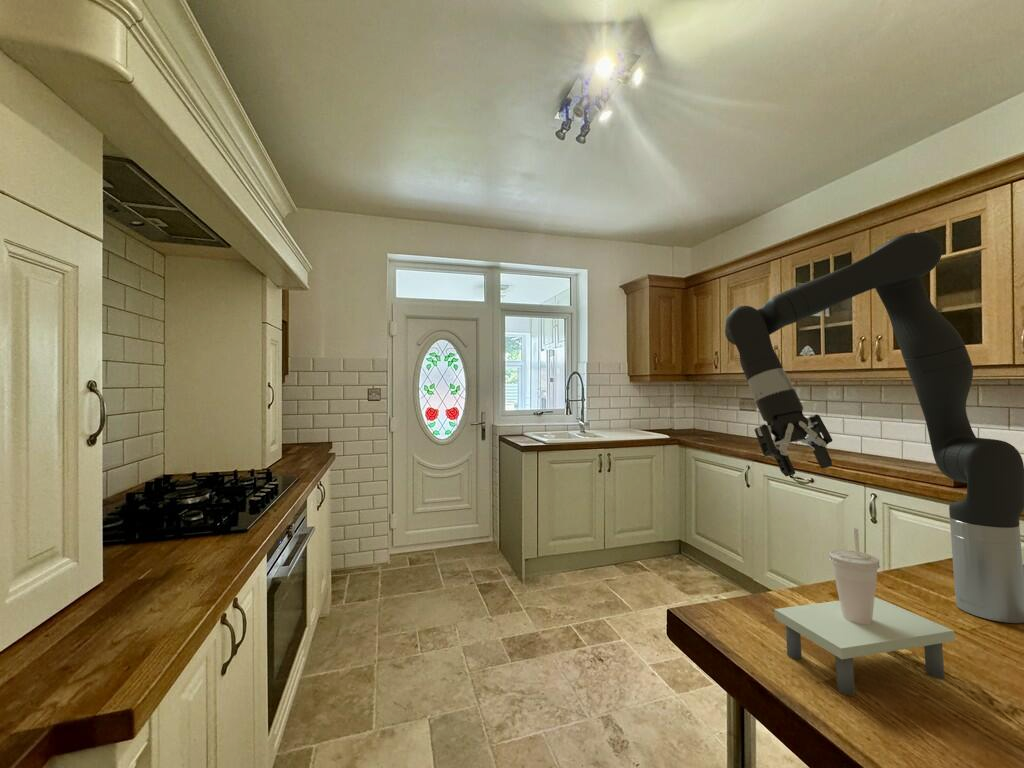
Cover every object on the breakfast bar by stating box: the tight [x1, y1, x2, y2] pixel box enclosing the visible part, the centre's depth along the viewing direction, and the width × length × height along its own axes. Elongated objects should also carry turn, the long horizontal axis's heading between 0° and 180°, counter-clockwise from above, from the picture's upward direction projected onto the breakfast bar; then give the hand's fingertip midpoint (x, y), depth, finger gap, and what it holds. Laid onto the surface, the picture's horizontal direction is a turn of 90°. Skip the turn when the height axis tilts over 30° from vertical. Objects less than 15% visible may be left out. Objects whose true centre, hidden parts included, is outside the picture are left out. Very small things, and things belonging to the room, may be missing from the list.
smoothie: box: [828, 527, 881, 624], centre depth 69 cm, size 6×6×14 cm
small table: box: [774, 596, 956, 697], centre depth 69 cm, size 20×12×7 cm, turn 101°
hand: (809, 471), depth 85 cm, fingers open, 8 cm apart
